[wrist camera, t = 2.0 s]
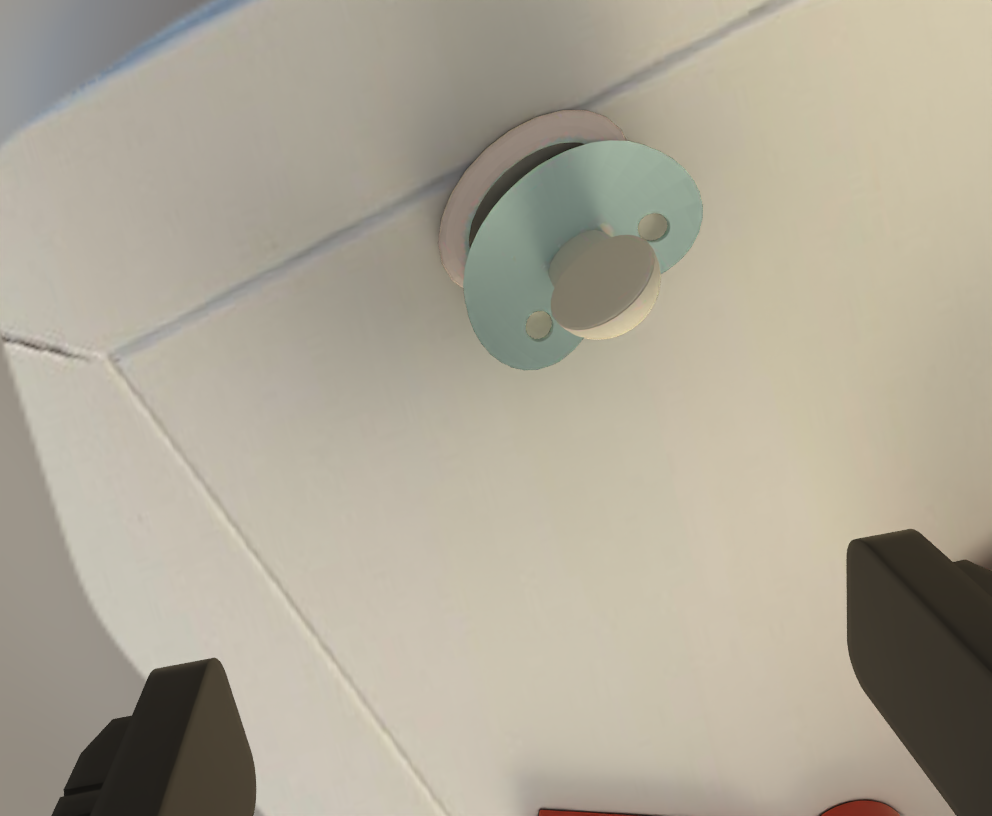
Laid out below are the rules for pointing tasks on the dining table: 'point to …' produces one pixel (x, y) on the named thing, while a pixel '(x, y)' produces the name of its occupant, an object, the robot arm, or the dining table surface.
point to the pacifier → (565, 236)
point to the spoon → (855, 812)
